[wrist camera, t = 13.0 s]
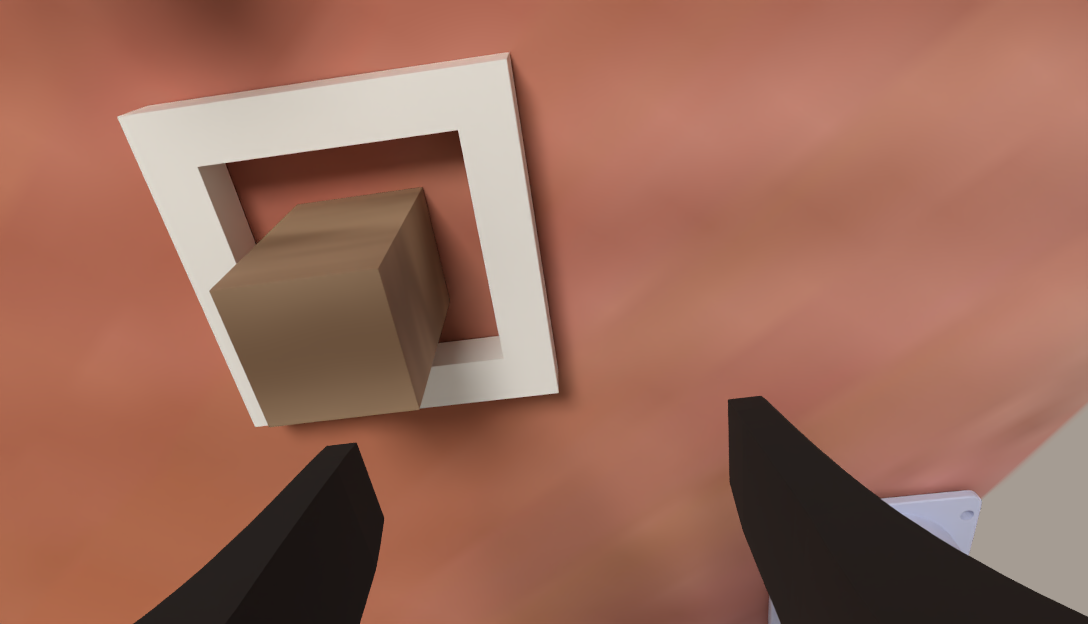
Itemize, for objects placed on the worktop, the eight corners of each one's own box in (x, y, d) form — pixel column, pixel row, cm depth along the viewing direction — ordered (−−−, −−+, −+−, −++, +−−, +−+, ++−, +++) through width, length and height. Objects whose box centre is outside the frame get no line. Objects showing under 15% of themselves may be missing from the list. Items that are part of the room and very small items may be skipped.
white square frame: (557, 368, 23) (558, 392, 22) (271, 400, 24) (255, 426, 22) (509, 52, 18) (506, 58, 17) (147, 105, 19) (117, 116, 17)
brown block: (450, 300, 22) (419, 409, 16) (335, 315, 22) (269, 427, 17) (422, 186, 20) (377, 268, 14) (297, 204, 20) (209, 291, 15)
